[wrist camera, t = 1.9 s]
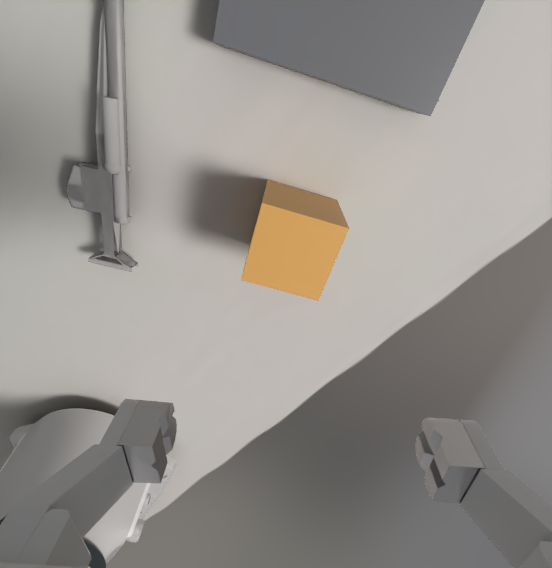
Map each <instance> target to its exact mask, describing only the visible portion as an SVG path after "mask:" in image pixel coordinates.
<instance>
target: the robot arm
mask: <svg viewBox="0 0 552 568" xmlns="http://www.w3.org/2000/svg"><path fill="white" fill-rule="evenodd" d="M173 412H174V406H173V403H167V402H156V401H145V400H132V399H125V400H124V401H123V402H122V403H121V405H120V407H119V409H118V410H117V412H116V414H115V416H114V415H111V414H108V413H105V412H101V411H96V410H90V409H80V408H72V409H62V410H58V411H54V412H51V413H49V414H47V415H45V416H44V417H42V418H41V419H40V420H38V421H37V422H36V423H34V424H30V425H24V426H20V427H17V428H16V429H15V430H14V431H13V433H12V434H11V436H10V442H11V444H12V446H13V448H14V450H13V451H12V453H11V454H10V456H9V457H8V459H7V460H6V462H5V463H4V465H3V466H2V468H1V469H0V568H106V564H107V563H108V561H109V560H110V559H111V558H112V557H113V556H114V555H115V554H116V552H117V551H118V550H119V549H120V548H121V546H122V545H123V544H124V542H125V540H126V541H127V540H128V541H129V542H133V543H135V542H137V541H138V539H139V537H140V534H141V531H142V528H143V525H144V522H145V521H144V520H143V518H144V517H145V515H146V513H147V512H148V510H149V509H150V507H151V505H152V504H153V502H154V501H155V499H156V498H157V496H158V494H159V493H160V491H161V490H162V488H163V486H164V485H165V483H166V482H167V480H168V478H169V477H170V475H171V474H172V472H173V470H174V467H175V465H176V462H175V461H174V459H172V458H171V457H170V456H168V455H167V453H168V452H170V451H171V450H172V448H173V445H174V441H175V436H176V426H177V424H176V419H175V418H174V417H173V416H172V415H173ZM422 427H423V430H424V431H422V432H421V433H419V434H418V436H417V439H416V455H417V459H418V462H419V465H420V466H421V467H422V468H423V469H424V470H425V471H426V472H427V473H426V476H425V478H424V480H425V483H426V486H427V489H428V492H429V495H430V498H431V501H436V502H447V503H458V504H460V506H461V507H462V509H463V510H464V511H465V512H466V513H467V514H468V516H469V517H470V518H471V519H472V520H473V521H474V523H475V524H476V525H477V526H478V527H479V528H480V529H481V530H482V532H483V533H484V534H485V535H486V537H487V538H488V539H489V540H490V541H491V543H492V544H493V545H494V546H495V547H496V548H497V549H498V551H499V552H500V553H501V554H502V555H503V557H504V558H505V559H506V560H507V561H508V562H509V563H510V565H511V566H512V567H513V568H552V506H551V505H550V504H549V503H548V502H547V501H545V500H544V499H543V498H542V497H541V496H539V495H538V494H537V493H536V492H534V491H533V490H532V489H531V488H530V487H528V486H527V485H526V484H525V483H524V482H522V481H521V480H520V479H519V478H518V477H516V476H515V475H514V474H513V473H512V472H510V471H508V470H504V469H503V467H502V465H501V464H500V462H499V460H498V458H497V456H496V455H495V453H494V451H493V449H492V448H491V446H490V444H489V442H488V440H487V439H486V437H485V435H484V433H483V431H482V430H481V428H480V426H479V424H478V423H477V422H476V421H471V420H457V419H440V418H426V419H424V421H423V423H422Z"/></svg>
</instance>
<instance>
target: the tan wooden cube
mask: <svg viewBox="0 0 552 568" xmlns="http://www.w3.org/2000/svg"><path fill="white" fill-rule="evenodd" d="M348 229H349V227H348V225H347V223H346V220H345V218H344V215H343V213H342V210H341V208H340V206H339V203H338V201H337V200H334V199H331V198H328V197H324V196H321V195H318V194H314V193H311V192H308V191H304V190H301V189H298V188H294V187H291V186H288V185H284V184H281V183H278V182H274V181H271V180H267V184H266V187H265V191H264V195H263V198H262V202H261V206H260V209H259V213H258V217H257V221H256V224H255V228H254V232H253V235H252V239H251V243H250V246H249V250H248V254H247V258H246V262H245V266H244V270H243V274H242V278H241V280H243V281H247V282H250V283H254V284H258V285H262V286H265V287H269V288H273V289H277V290H280V291H284V292H288V293H292V294H296V295H299V296H303V297H307V298H311V299H314V300H318V301H319V298H320V296H321V294H322V291H323V289H324V286H325V284H326V282H327V279H328V277H329V275H330V272H331V270H332V267H333V265H334V263H335V260H336V258H337V256H338V253H339V251H340V248H341V246H342V244H343V241H344V239H345V237H346V234H347V232H348Z"/></svg>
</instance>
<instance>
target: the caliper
mask: <svg viewBox="0 0 552 568" xmlns="http://www.w3.org/2000/svg"><path fill="white" fill-rule="evenodd" d="M96 147H97V161H98V165H93V164H89V163H84V162H83V163H78V164H79V165H80V166H78V164H77V165H74V164H73V167H72V170H71V173H70V176H69V179H68V182H67V185H66V186H67V195H68V200H69V202H70V204H71V207H74V208H78V209H83V210H87V211H92V212H96V213H100V214H101V220H102V234H103V249H104V251H103V252H99V253H96V254H94V255H92V256H91V257H89V258H88V261H89V262H91V263H95V264H99V265H104V266H108V267H112V268H117V269H121V270H125V271H130V272H132V270H131V268H132V267H133V266H138V263H137V262H136V261H134V260H133V259H132V258H130V257H129V256H127V255H126V254H124V253H123V252H122V243H121V224H128V223H129V222H130V217H131V216H129V181H128V172H129V171H131V167H130V166H129V165H128V144H127V107H126V70H125V33H124V0H104V5H103V11H102V16H101V21H100V37H99V57H98V78H97V101H96ZM115 252H117V253H119V254H118V255H117V256H115Z"/></svg>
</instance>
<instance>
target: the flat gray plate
mask: <svg viewBox="0 0 552 568" xmlns="http://www.w3.org/2000/svg"><path fill="white" fill-rule="evenodd" d="M483 3H484V0H219V6H218V12H217V18H216V24H215V31H214V37H213V42H214V43H216V44H218V45H220V46H223V47H226V48H229V49H232V50H235V51H237V52H240V53H243V54H246V55H249V56H252V57H255V58H258V59H261V60H264V61H267V62H270V63H273V64H276V65H279V66H282V67H284V68H287V69H290V70H293V71H296V72H299V73H302V74H305V75H308V76H311V77H314V78H317V79H320V80H323V81H326V82H328V83H331V84H334V85H337V86H340V87H343V88H346V89H349V90H352V91H355V92H358V93H361V94H364V95H367V96H370V97H373V98H375V99H378V100H381V101H384V102H387V103H390V104H393V105H396V106H399V107H402V108H405V109H408V110H411V111H414V112H417V113H419V114H424V115H428V116H431V114H432V112H433V110H434V108H435V105H436V103H437V101H438V99H439V97H440V95H441V93H442V90H443V88H444V86H445V84H446V82H447V80H448V78H449V75H450V73H451V71H452V69H453V67H454V65H455V63H456V60H457V58H458V56H459V54H460V52H461V50H462V48H463V45H464V43H465V41H466V39H467V37H468V35H469V33H470V30H471V28H472V26H473V24H474V22H475V20H476V18H477V15H478V13H479V11H480V9H481V7H482V5H483Z"/></svg>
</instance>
